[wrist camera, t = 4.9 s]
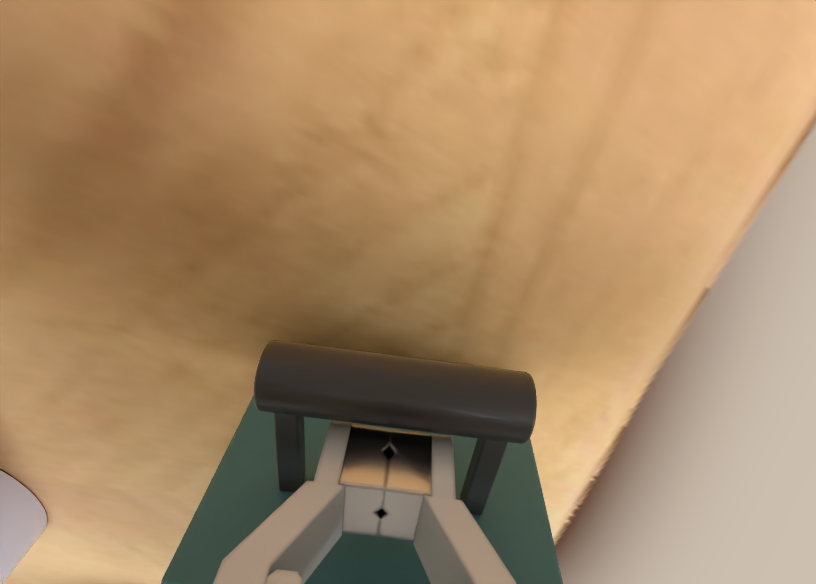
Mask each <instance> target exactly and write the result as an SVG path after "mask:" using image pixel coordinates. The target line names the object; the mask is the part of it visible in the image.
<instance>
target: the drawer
mask: <svg viewBox="0 0 816 584" xmlns="http://www.w3.org/2000/svg"><path fill="white" fill-rule="evenodd" d="M536 407H537V400H536V390H535V384H534V381H533V378H532V376H531V375H530V374H528V373H527V372H521V371H513V370H505V369H498V368H490V367H482V366H474V365H466V364H458V363H451V362H443V361H435V360H427V359H419V358H411V357H404V356H396V355H388V354H380V353H372V352H364V351H357V350H349V349H341V348H333V347H325V346H317V345H310V344H302V343H294V342H286V341H278V340H273V341H270V342H269V343H268V344H267V345H266V347H265V349H264V351H263V353H262V355H261V358H260V360H259V364H258V367H257V371H256V376H255V383H254V396H253V398H252V400H251V402H250V404H249V406H248V408H247V410H246V412H245V414H244V416H243V418H242V420H241V422H240V424H239V426H238V428H237V430H236V432H235V434H234V436H233V438H232V440H231V442H230V444H229V446H228V448H227V450H226V452H225V454H224V456H223V458H222V460H221V462H220V464H219V466H218V468H217V470H216V472H215V474H214V476H213V478H212V480H211V482H210V484H209V486H208V488H207V490H206V492H205V494H204V496H203V498H202V500H201V502H200V504H199V506H198V508H197V510H196V512H195V514H194V516H193V518H192V520H191V522H190V524H189V526H188V528H187V530H186V532H185V534H184V536H183V538H182V541H181V543H180V545H179V547H178V549H177V551H176V553H175V555H174V557H173V559H172V561H171V563H170V565H169V567H168V569H167V571H166V573H165V575H164V577H163V579H162V582H161V584H213V582H214V579H215V577H216V575H217V572H218V570H219V567H220V565H221V562H222V560H223V559H224V558H225V557H226V556H227V555H228V554H229V553H230V552H232V551H233V550H234V549H235V548H236V547H237V546H238V545H239V544H240V543H241V542H242V541H243V540H244V539H245V538H246V537H248V536H249V535H250V534H251V533H252V532H253V531H254V530H255V529H256V528H257V527H258V526H259V525H260V524H261V523H263V522H264V521H265V520H266V519H267V518H268V517H269V516H270V515H271V514H272V513H273V512H274V511H275V510H276V509H278V508H279V507H280V506H281V505H282V504H283V503H284V502H285V501H286V500H287V499H288V498H289V497H290V496H291V495H293V494H294V493H295V492H296V491H297V490H298V489H299V488H300V487H301V486H302V485H303V484H304V483H305V482H306V481H314V478H315V474H316V471H317V467H318V463H319V460H320V456H321V452H322V449H323V445H324V441H325V438H326V434H327V430H328V427H329V425H330V423H331V421H338V422H345V423H353V424H359V425H366V426H372V427H378V428H385V429H398V430H406V431H415V432H424V433H431V434H437V435H445V436H452V439H453V446H454V470H455V493H456V499H457V500H462V501H463V503H464V504H465V506H466V507H467V509H468V510H469V512H470V513H471V515H472V516H473V518H474V519H475V521H476V522H477V524H478V525H479V527H480V528H481V530H482V531H483V533H484V535H485V536H486V538H487V539H488V541H489V542H490V544H491V545H492V547H493V548H494V550H495V551H496V553H497V554H498V556H499V557H500V559H501V560H502V562H503V563H504V565H505V566H506V568H507V570H508V571H509V573H510V574H511V576H512V577H513V579H514V580H515V582H516V583H517V584H563V582H562V578H561V573H560V569H559V564H558V560H557V556H556V551H555V546H554V542H553V538H552V533H551V529H550V524H549V520H548V515H547V511H546V507H545V502H544V498H543V493H542V489H541V484H540V480H539V476H538V471H537V467H536V462H535V458H534V453H533V449H532V445H531V440H530V437H531V434H532V432H533V428H534V424H535V418H536ZM304 584H431V583H430V581H429V578H428V576H427V574H426V572H425V569H424V567H423V565H422V563H421V560H420V558H419V556H418V554H417V551H416V549H415V547H414V545H413V541H407V540H400V539H394V538H387V537H381V536H372V535H362V534H351V533H342V536H341V537H340V538H339V539H338V541H337V542H336V543H335V545H334V546H333V547H332V548H331V550H330V551H329V552H328V553H327V555H326V556H325V557H324V559H323V560H322V561H321V562H320V564H319V565H318V566H317V568H316V569H315V570H314V571H313V573H312V574H311V575H310V577H309V578H308V579H307V580H306V582H305V583H304Z"/></svg>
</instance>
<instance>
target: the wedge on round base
mask: <svg viewBox="0 0 816 584" xmlns="http://www.w3.org/2000/svg"><path fill="white" fill-rule="evenodd" d="M46 526H47V515H46V512H45V509H44V508H43V506H42V504H41V503H40V502H39V500H38V499H37V498H36V497H35V496H34V495H33V494H32V493H31V492H30V491H29V490H28V489H27V488H26V487H25V486H23V485H22V484H21V483H20V482H18V481H17V480H15V479H14V478H12V477H11V476H9V475H8V474H6V473H4V472H3V471H1V470H0V584H2V583H3V582H4V581H5V580H6V578H7V577H8V576H9V574H10V573H11V572H12V571H13V569H14V568H15V567H16V566H17V564H18V563H19V562H20V560H21V559H22V558H23V557H24V555H25V554H26V553H27V551H28V550H29V549H30V548H31V546H32V545H33V544H34V543H35V541H36V540H37V539H38V537H39V536H40V535H41V534H42V532H43V531H44V530H45V528H46Z"/></svg>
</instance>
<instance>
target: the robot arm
mask: <svg viewBox="0 0 816 584" xmlns="http://www.w3.org/2000/svg"><path fill="white" fill-rule="evenodd" d="M342 533H351V534H362V535H372V536H381V537H387V538H394V539H400V540H407V541H413V545H414V547H415V549H416V551H417V554H418V556H419V558H420V560H421V563H422V565H423V567H424V569H425V572H426V574H427V576H428V578H429V581H430V583H431V584H517V583H516V582H515V580H514V579H513V577H512V576H511V574H510V573H509V571H508V570H507V568H506V566H505V565H504V563H503V562H502V560H501V559H500V557H499V556H498V554H497V553H496V551H495V550H494V548H493V547H492V545H491V544H490V542H489V541H488V539H487V538H486V536H485V535H484V533H483V531H482V530H481V528H480V527H479V525H478V524H477V522H476V521H475V519H474V518H473V516H472V515H471V513H470V512H469V510H468V509H467V507H466V506H465V504H464V503H463V501H462V500H457V499H456V493H455V470H454V446H453V439H452V436H445V435H437V434H431V433H424V432H415V431H406V430H398V429H385V428H378V427H372V426H366V425H359V424H353V423H345V422H338V421H331V423H330V425H329V427H328V430H327V434H326V438H325V441H324V445H323V449H322V452H321V456H320V460H319V463H318V467H317V471H316V474H315V478H314V481H306V482H305V483H304V484H303V485H302V486H301V487H300V488H299V489H298V490H297V491H296V492H295V493H294V494H293V495H291V496H290V497H289V498H288V499H287V500H286V501H285V502H284V503H283V504H282V505H281V506H280V507H279V508H278V509H276V510H275V511H274V512H273V513H272V514H271V515H270V516H269V517H268V518H267V519H266V520H265V521H264V522H263V523H261V524H260V525H259V526H258V527H257V528H256V529H255V530H254V531H253V532H252V533H251V534H250V535H249V536H248V537H246V538H245V539H244V540H243V541H242V542H241V543H240V544H239V545H238V546H237V547H236V548H235V549H234V550H233V551H232V552H230V553H229V554H228V555H227V556H226V557H225V558H224V559H223V560H222V562H221V565H220V567H219V570H218V572H217V575H216V577H215V579H214V582H213V584H304V583H305V582H306V580H307V579H308V578H309V577H310V575H311V574H312V573H313V571H314V570H315V569H316V568H317V566H318V565H319V564H320V562H321V561H322V560H323V559H324V557H325V556H326V555H327V553H328V552H329V551H330V550H331V548H332V547H333V546H334V545H335V543H336V542H337V541H338V539H339V538H340V537H341V536H342Z"/></svg>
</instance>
